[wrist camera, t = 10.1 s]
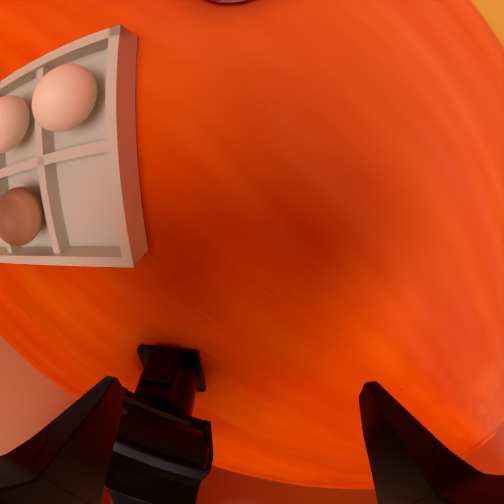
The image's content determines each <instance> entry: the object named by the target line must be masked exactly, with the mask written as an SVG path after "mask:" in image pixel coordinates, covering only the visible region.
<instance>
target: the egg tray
mask: <svg viewBox="0 0 504 504" xmlns="http://www.w3.org/2000/svg"><path fill="white" fill-rule="evenodd" d="M137 41H138V36H137V35H135V34H134V33H132V32H131V31H129V30H128V29H126V28H125V27H123V26H122V25H117V26H114V27H111V28H108V29H105V30H102V31H99V32H96V33H93V34H91V35H88V36H86V37H83V38H81V39H78V40H76V41H73V42H71V43H69V44H66V45H64V46H62V47H60V48H58V49H56V50H54V51H52V52H50V53H48V54H46V55H44V56H42V57H40V58H38V59H36V60H34V61H33V62H31V63H29V64H27V65H26V66H24V67H22V68H21V69H19V70H17V71H16V72H14V73H12V74H11V75H9V76H8V77H6V78H5V79H3V80H2V81H0V98H1V97H3V96H6V95H15V96H18V97H20V98H21V99H23V100H24V101H25V103H26V104H27V106H28V109H29V116H30V118H29V125H28V129H27V132H26V134H25V136H24V137H23V139H22V140H21V142H20V143H19V144H18V145H17V146H16V147H14V148H13V149H11V150H10V151H8V152H5V153H0V198H1V197H2V196H3V195H4V194H5V193H6V192H7V191H9V190H10V189H12V188H15V187H26V188H29V189H31V190H32V191H33V192H35V193H36V194H37V196H38V197H39V199H40V201H41V203H42V206H43V223H42V226H41V229H40V231H39V233H38V235H37V236H36V237H35V238H34V239H33V240H32V241H31V242H29V243H28V244H26V245H23V246H12V245H10V244H8V243H6V242H5V241H3V240H2V238H1V237H0V263H17V264H39V265H64V266H94V267H132V268H134V267H135V266H136V264H137V263H138V262H139V261H140V259H141V258H142V257H143V256H144V254H145V253H146V252H147V251H148V245H147V239H146V232H145V225H144V218H143V210H142V201H141V192H140V182H139V171H138V158H137V141H136V111H135V85H136V56H137ZM64 64H79V65H81V66H84V67H85V68H87V69H88V70H89V71H90V72H91V73H92V74H93V76H94V77H95V80H96V83H97V99H96V102H95V105H94V107H93V109H92V111H91V113H90V114H89V116H88V117H87V118H86V119H85V120H84V121H83V122H82V123H81V124H79V125H78V126H76V127H75V128H73V129H70V130H68V131H64V132H52V131H48V130H46V129H44V128H42V127H41V126H40V125H39V124H38V123H37V121H36V120H35V118H34V116H33V112H32V97H33V94H34V91H35V88H36V86H37V85H38V83H39V82H40V80H41V79H42V78H43V77H44V76H45V75H46V74H47V73H48V72H49V71H51V70H52V69H54V68H56V67H58V66H61V65H64Z"/></svg>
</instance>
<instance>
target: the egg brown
mask: <svg viewBox="0 0 504 504" xmlns="http://www.w3.org/2000/svg"><path fill="white" fill-rule="evenodd" d="M42 223H43V206H42V203H41V201H40V199H39V197H38V196H37V194H36V193H35V192H33V191H32V190H31V189H29V188H26V187H15V188H12V189H10V190H9V191H7V192H6V193H5V194H4V195H3V196H2V197H1V198H0V237H1V238H2V240H3V241H5V242H6V243H8V244H10V245H12V246H23V245H26V244H28V243H29V242H31V241H32V240H33V239H34V238H35V237H36V236H37V235H38V233H39V231H40V229H41V226H42Z"/></svg>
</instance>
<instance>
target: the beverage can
mask: <svg viewBox="0 0 504 504" xmlns="http://www.w3.org/2000/svg"><path fill="white" fill-rule="evenodd" d="M210 1H215V2H223V3H232V2H241V1H245V0H210Z"/></svg>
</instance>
